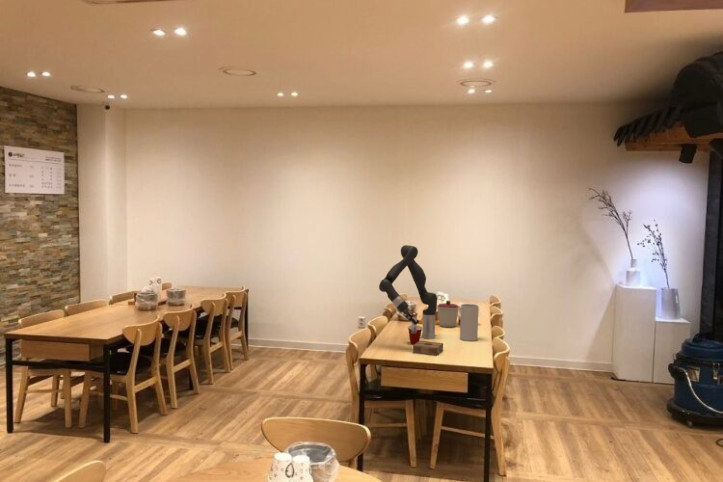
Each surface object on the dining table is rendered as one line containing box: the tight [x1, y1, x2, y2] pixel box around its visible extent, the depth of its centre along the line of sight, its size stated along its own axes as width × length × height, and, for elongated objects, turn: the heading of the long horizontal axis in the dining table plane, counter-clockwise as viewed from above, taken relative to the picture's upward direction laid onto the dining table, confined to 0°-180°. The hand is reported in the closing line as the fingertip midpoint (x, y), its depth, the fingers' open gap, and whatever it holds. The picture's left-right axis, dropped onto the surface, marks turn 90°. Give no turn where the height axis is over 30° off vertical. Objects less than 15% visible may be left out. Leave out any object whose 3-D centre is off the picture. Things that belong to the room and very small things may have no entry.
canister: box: [437, 300, 460, 328], centre depth 464 cm, size 18×18×21 cm
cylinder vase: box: [459, 303, 479, 342], centre depth 417 cm, size 12×12×25 cm
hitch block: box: [412, 340, 444, 357], centre depth 378 cm, size 16×16×5 cm
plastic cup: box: [407, 324, 423, 345], centre depth 400 cm, size 11×11×12 cm
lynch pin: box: [411, 312, 419, 333], centre depth 382 cm, size 4×4×13 cm
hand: (417, 323), depth 382 cm, fingers closed on lynch pin, 3 cm apart
